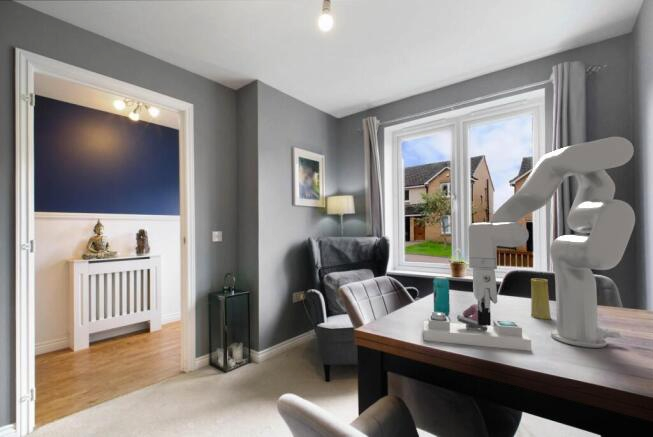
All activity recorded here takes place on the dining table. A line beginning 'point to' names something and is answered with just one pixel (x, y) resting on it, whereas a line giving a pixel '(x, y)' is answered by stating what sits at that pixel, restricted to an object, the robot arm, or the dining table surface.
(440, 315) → the steel button
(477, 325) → the rocker switch
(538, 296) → the vase
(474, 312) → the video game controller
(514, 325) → the teal button
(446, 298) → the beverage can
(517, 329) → the control panel
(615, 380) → the dining table surface
